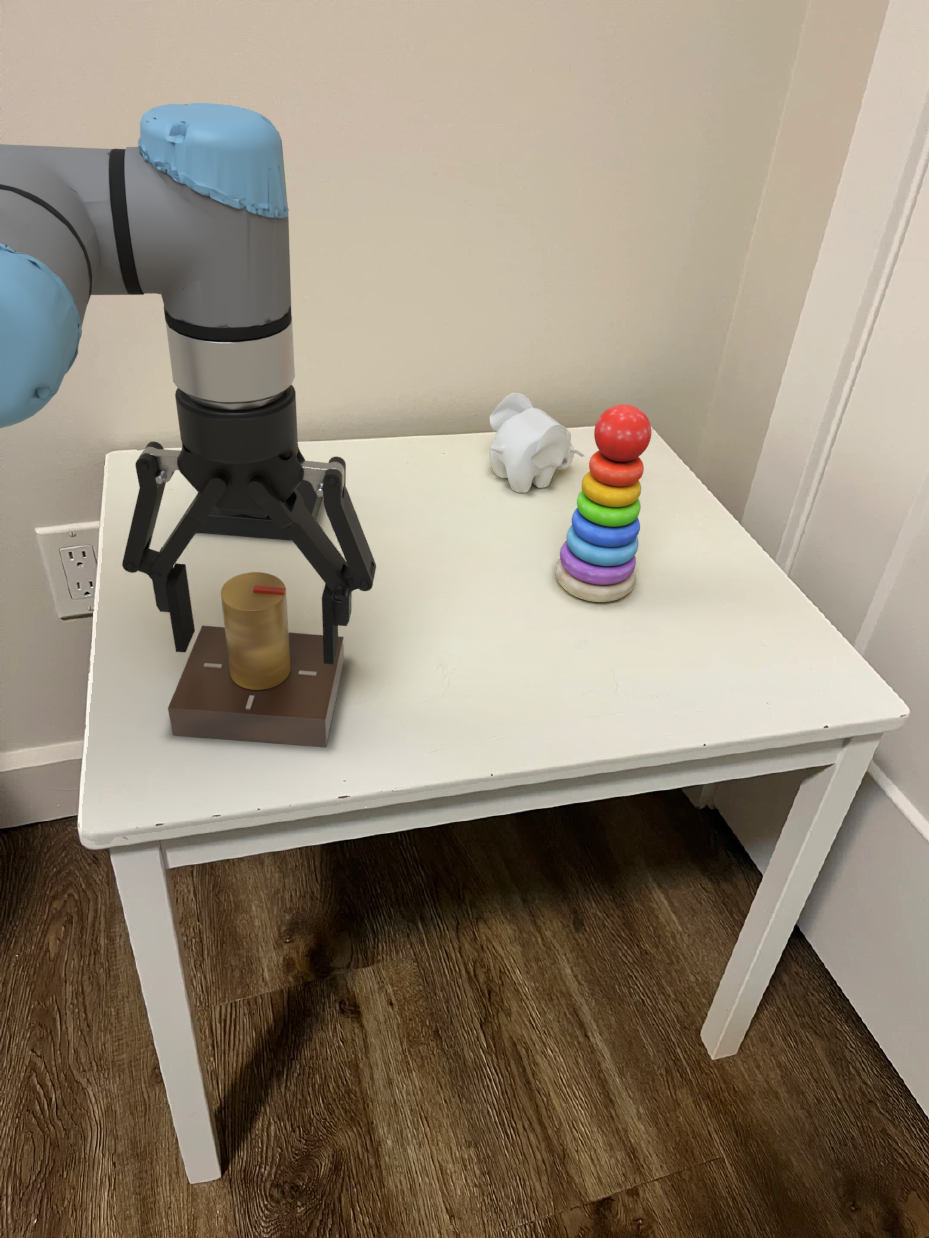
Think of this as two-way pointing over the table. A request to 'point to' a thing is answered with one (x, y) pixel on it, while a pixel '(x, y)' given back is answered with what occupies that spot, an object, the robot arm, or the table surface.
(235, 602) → the lock knob
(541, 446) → the elephant figurine
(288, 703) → the plate
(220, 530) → the block
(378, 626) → the table surface
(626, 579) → the stacking toy
